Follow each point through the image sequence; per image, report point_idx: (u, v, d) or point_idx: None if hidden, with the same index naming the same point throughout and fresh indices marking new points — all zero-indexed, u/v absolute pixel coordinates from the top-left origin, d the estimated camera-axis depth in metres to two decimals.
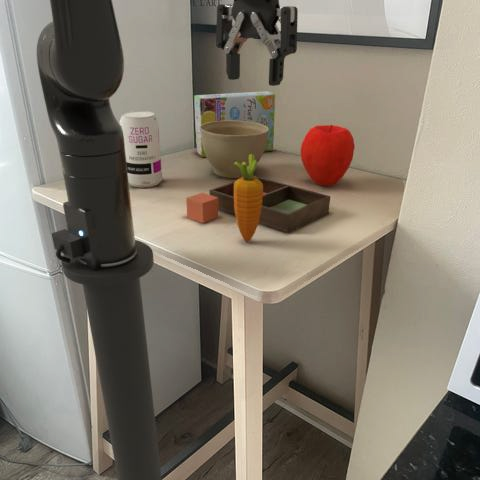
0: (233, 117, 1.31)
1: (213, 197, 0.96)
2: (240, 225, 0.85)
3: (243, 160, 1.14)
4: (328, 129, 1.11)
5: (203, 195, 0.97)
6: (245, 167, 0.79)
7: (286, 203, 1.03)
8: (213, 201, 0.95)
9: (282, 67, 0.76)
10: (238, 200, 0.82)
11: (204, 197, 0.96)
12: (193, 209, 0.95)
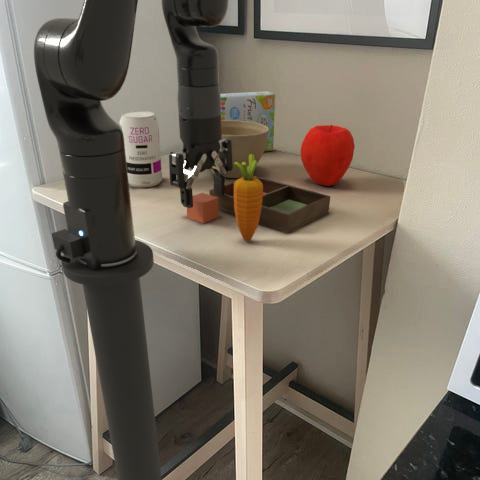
0: (233, 117, 1.31)
1: (213, 197, 0.96)
2: (240, 225, 0.85)
3: (243, 160, 1.14)
4: (328, 129, 1.11)
5: (203, 195, 0.97)
6: (245, 167, 0.79)
7: (286, 203, 1.03)
8: (213, 201, 0.95)
9: (184, 195, 0.91)
10: (238, 200, 0.82)
11: (204, 197, 0.96)
12: (193, 209, 0.95)
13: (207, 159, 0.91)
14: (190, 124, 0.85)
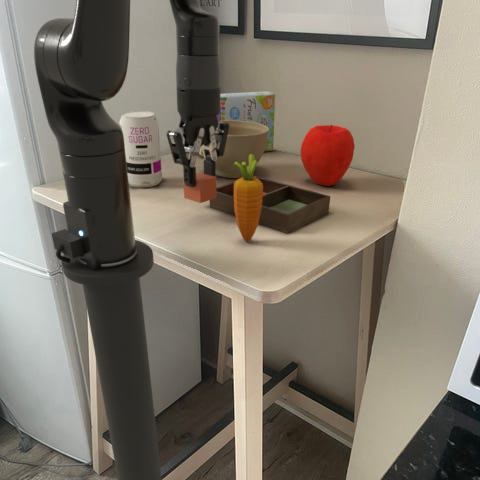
0: (233, 118, 1.31)
1: (211, 176, 0.93)
2: (240, 225, 0.85)
3: (243, 160, 1.14)
4: (328, 129, 1.11)
5: (201, 174, 0.94)
6: (245, 167, 0.79)
7: (286, 203, 1.03)
8: (211, 180, 0.93)
9: (187, 174, 0.90)
10: (238, 200, 0.82)
11: (202, 176, 0.93)
12: (190, 189, 0.93)
13: (204, 134, 0.89)
14: (188, 95, 0.83)
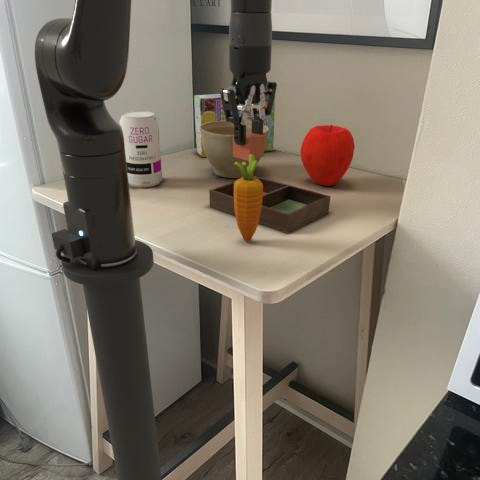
0: None
1: (259, 135, 0.96)
2: (240, 225, 0.85)
3: (243, 160, 1.14)
4: (328, 129, 1.11)
5: (249, 133, 0.98)
6: (245, 167, 0.79)
7: (286, 203, 1.03)
8: (259, 139, 0.96)
9: (238, 132, 0.93)
10: (238, 200, 0.82)
11: (250, 135, 0.97)
12: (239, 147, 0.96)
13: (255, 93, 0.92)
14: (242, 53, 0.85)
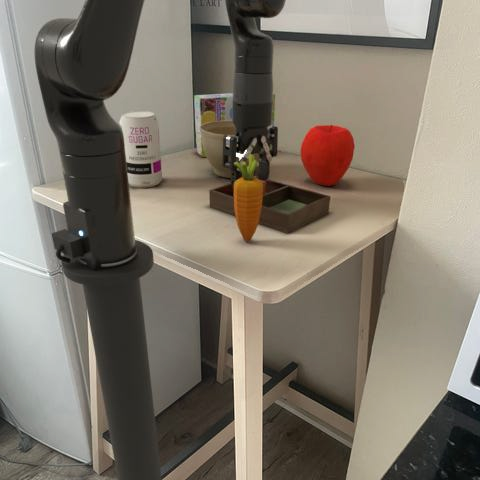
0: None
1: (261, 181, 1.02)
2: (240, 225, 0.85)
3: None
4: (328, 129, 1.11)
5: None
6: (245, 167, 0.79)
7: (286, 203, 1.03)
8: None
9: (234, 177, 0.97)
10: (238, 200, 0.82)
11: None
12: None
13: (256, 143, 0.97)
14: (244, 109, 0.91)
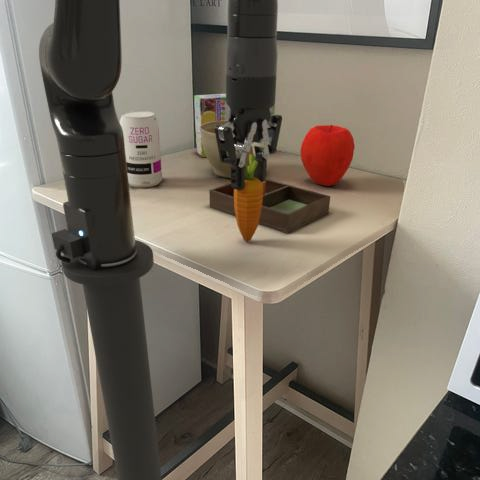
0: None
1: None
2: (240, 225, 0.85)
3: None
4: (328, 129, 1.11)
5: None
6: (245, 167, 0.79)
7: (286, 203, 1.03)
8: None
9: (235, 175, 0.79)
10: (238, 199, 0.82)
11: None
12: None
13: (256, 130, 0.77)
14: (241, 85, 0.71)
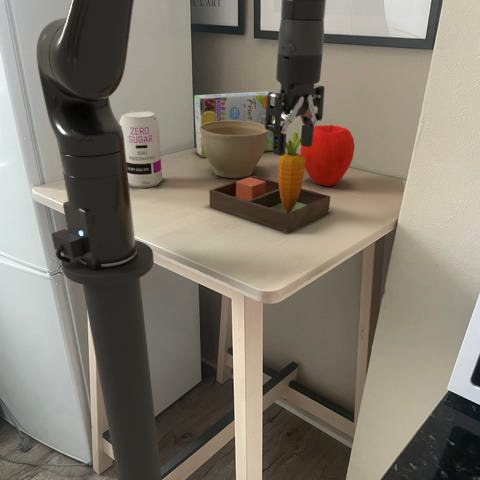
0: (233, 118, 1.31)
1: (261, 181, 1.02)
2: (283, 196, 0.95)
3: (243, 160, 1.14)
4: (328, 129, 1.11)
5: (251, 179, 1.03)
6: (290, 143, 0.89)
7: None
8: (261, 185, 1.01)
9: (277, 141, 0.87)
10: (282, 173, 0.92)
11: (253, 181, 1.02)
12: (242, 192, 1.02)
13: (302, 104, 0.87)
14: (292, 62, 0.81)
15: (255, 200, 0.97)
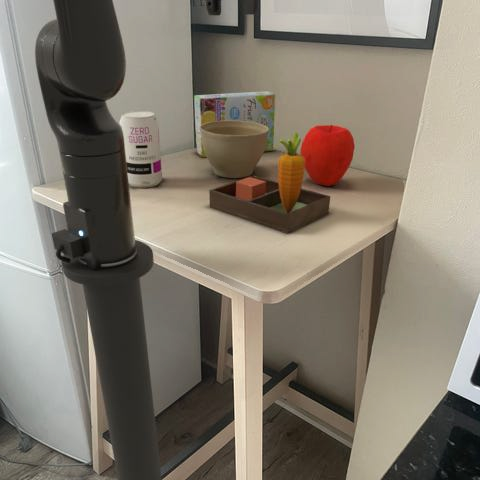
0: (233, 118, 1.31)
1: (261, 181, 1.02)
2: (283, 196, 0.95)
3: (243, 160, 1.14)
4: (328, 129, 1.11)
5: (251, 179, 1.03)
6: (290, 143, 0.89)
7: None
8: (261, 185, 1.01)
9: None
10: (282, 173, 0.92)
11: (253, 181, 1.02)
12: (242, 192, 1.02)
13: None
14: None
15: (255, 200, 0.97)
